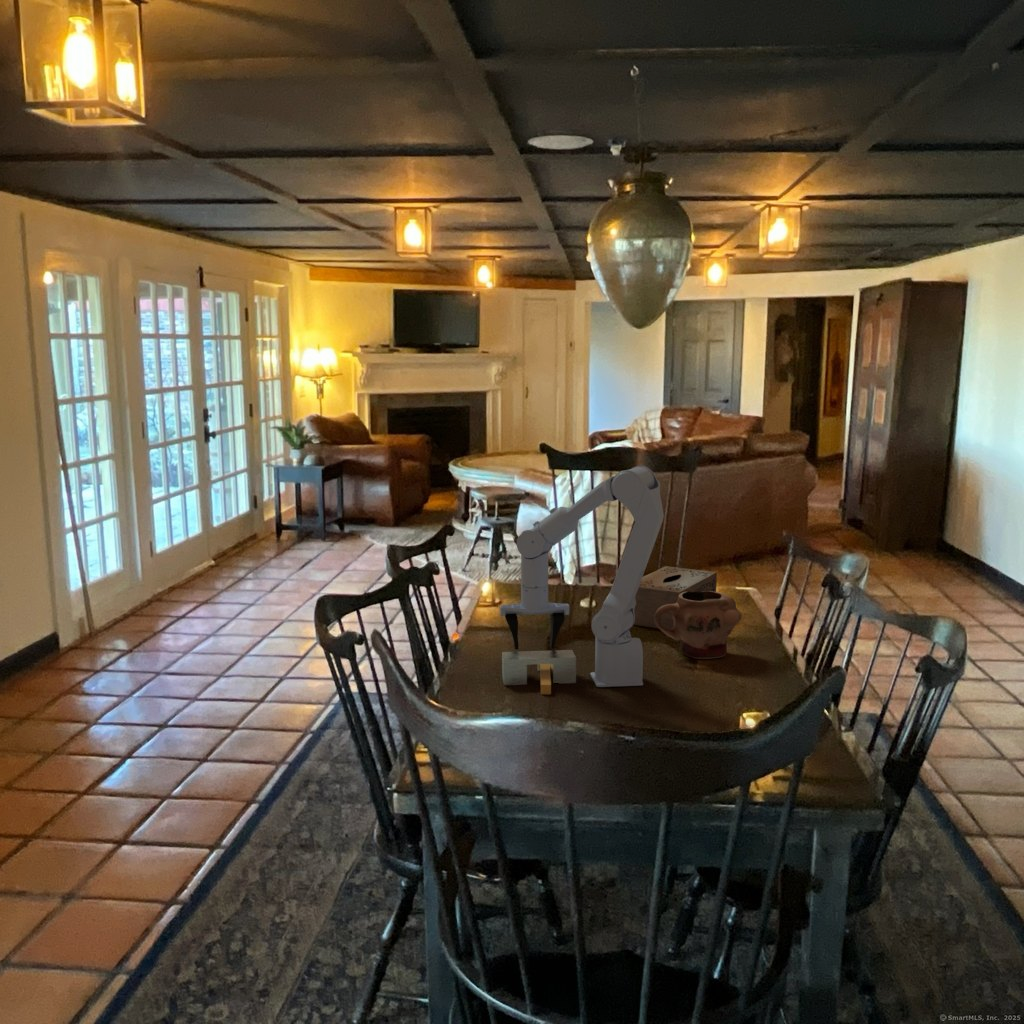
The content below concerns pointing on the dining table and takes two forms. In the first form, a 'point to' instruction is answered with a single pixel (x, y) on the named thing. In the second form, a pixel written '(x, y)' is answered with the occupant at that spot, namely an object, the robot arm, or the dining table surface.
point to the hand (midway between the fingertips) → (534, 647)
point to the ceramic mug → (701, 622)
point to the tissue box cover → (668, 592)
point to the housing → (518, 661)
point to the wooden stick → (545, 678)
